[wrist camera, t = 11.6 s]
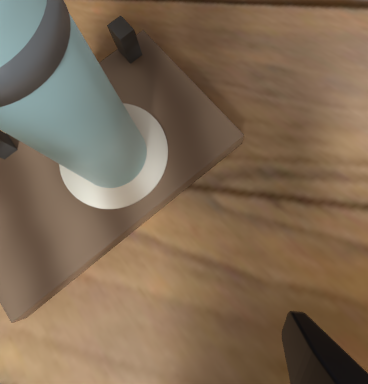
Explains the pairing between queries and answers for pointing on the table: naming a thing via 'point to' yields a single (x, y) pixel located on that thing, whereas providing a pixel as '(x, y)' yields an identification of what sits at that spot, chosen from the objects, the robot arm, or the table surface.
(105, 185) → the teal capped cylinder
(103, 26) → the table surface
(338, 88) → the table surface
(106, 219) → the comb board
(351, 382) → the robot arm
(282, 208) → the table surface
